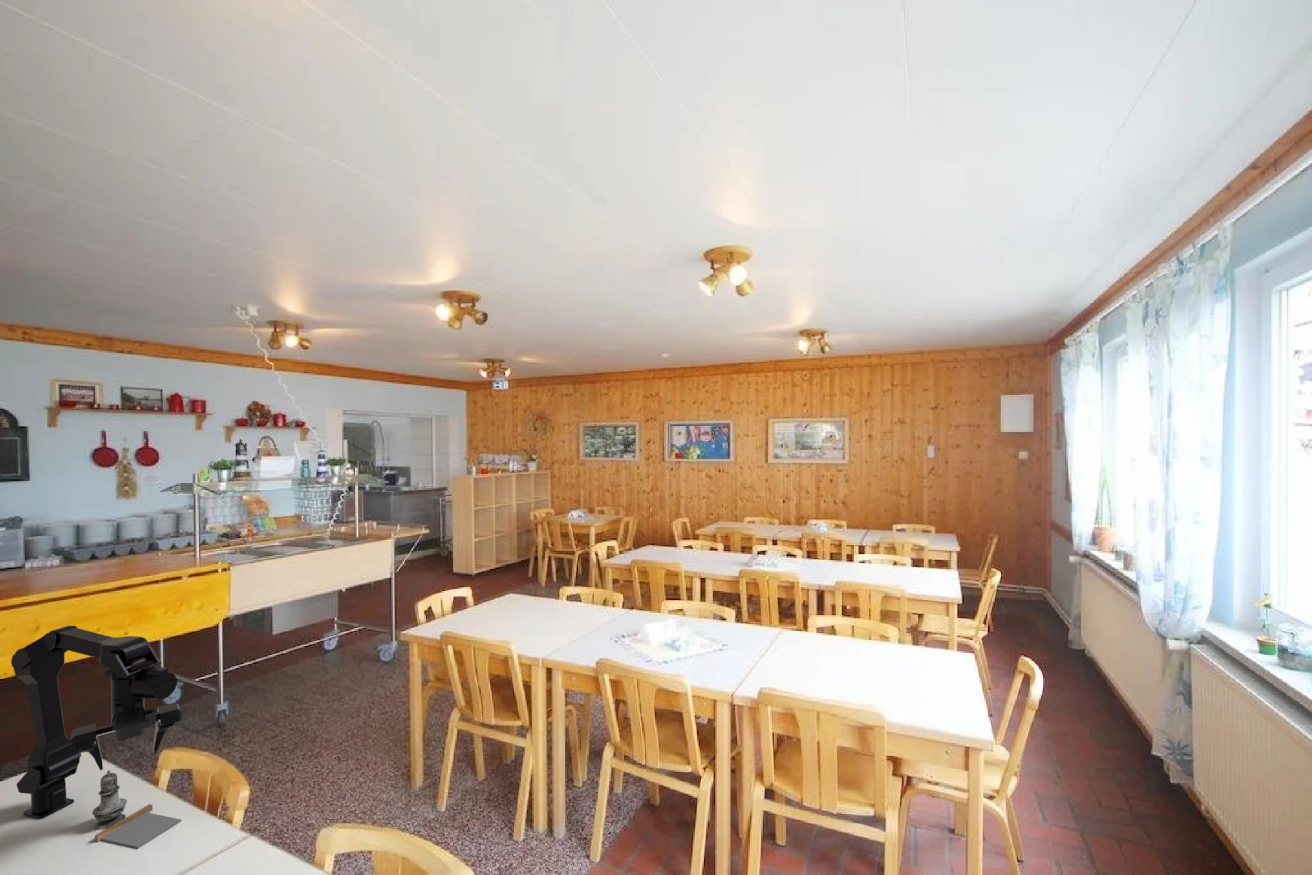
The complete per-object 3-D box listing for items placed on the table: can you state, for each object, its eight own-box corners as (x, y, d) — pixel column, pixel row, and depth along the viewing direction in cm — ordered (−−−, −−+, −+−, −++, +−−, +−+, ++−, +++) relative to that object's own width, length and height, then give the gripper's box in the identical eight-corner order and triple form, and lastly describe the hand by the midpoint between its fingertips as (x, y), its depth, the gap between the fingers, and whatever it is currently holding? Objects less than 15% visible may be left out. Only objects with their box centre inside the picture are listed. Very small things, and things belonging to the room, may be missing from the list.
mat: (100, 840, 129) (100, 838, 129) (145, 813, 138) (145, 812, 138) (138, 848, 126) (137, 846, 126) (181, 821, 135) (181, 819, 135)
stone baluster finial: (106, 832, 132) (104, 779, 131) (85, 828, 133) (83, 776, 133) (134, 814, 137) (132, 764, 137) (114, 812, 139) (112, 761, 138)
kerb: (94, 840, 129) (94, 835, 129) (149, 809, 139) (149, 804, 139) (98, 841, 129) (97, 836, 129) (152, 809, 139) (152, 804, 139)
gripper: (71, 721, 124) (72, 794, 124) (184, 693, 137) (184, 759, 137) (70, 703, 131) (71, 772, 132) (177, 678, 145) (178, 741, 145)
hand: (128, 761), depth 136 cm, fingers open, 9 cm apart
